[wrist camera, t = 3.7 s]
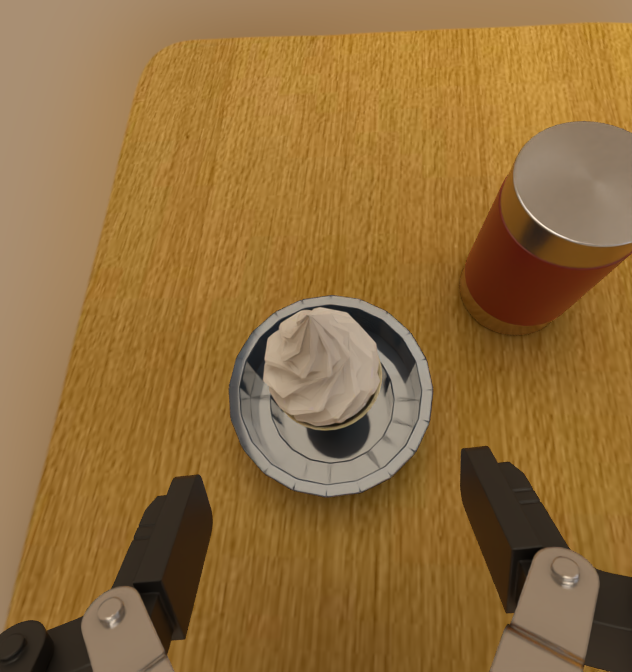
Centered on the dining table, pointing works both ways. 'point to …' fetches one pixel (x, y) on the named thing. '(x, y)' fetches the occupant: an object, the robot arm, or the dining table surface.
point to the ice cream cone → (322, 369)
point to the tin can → (552, 228)
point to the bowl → (345, 443)
